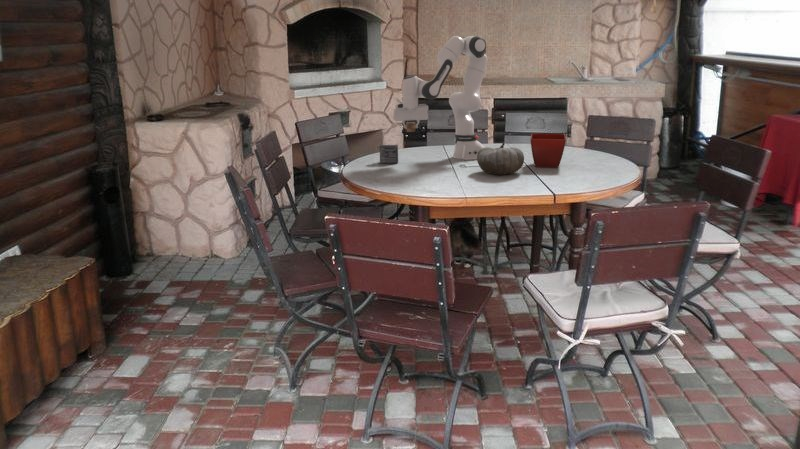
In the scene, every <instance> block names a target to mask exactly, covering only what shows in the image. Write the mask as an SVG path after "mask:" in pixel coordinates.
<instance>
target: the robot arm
mask: <svg viewBox="0 0 800 449" xmlns="http://www.w3.org/2000/svg"><path fill="white" fill-rule="evenodd" d="M486 49H487V42H486V39H485V38H484V37H482V36H480V35H469V36H464V37H460V35H453V36H451V37H450V38H449V39H448V40H447V41H446V42H445V44H443V46H442V47H441V48H440V50H439V52H438V53H437V56H436V60H437V63H438V65H439V68H438V70H437V71H436V74H435V75H434V76H433V78H432V79H431V80H429V81H428V80H424V79H422V78H419V77H418V76H417V75H416V74H415V75H414V74H412V75H411V74H410V75H406V76H404V77H403V80H402V86H401V87H402V94H403V96H402V101H400V102H396V103H395V105H394V106H395V108H394V110H393V121H394V122H401V123H402V125H403V128H404V129H407V125H406V124H405V122H406V121H407V122H408V121H409V122H410V121H416V122H417V123H416V124H415V129H418V128H419V124H420V121H427V120H428V119H429V115H428V112H429V105H428V104H426V103H419V98H424V99H426V100H429V101H432V100H435V99H437V98H438V97H439V94H440V93H441V89H442V86H443V84H444V83H445V81H446V80H447V78H448V76H449V74H450V72H452V70H453V66H454V65H455V63H456V61H457V60H458V59H459V58H460V55H463V56H468V58H469V59H468V60H469V61H468V65H467V67H466V70H465V73H464V76H463V78H462V82H463V85H464V86H463V91H458V92H457V91H456V92H453V93H452V94H451V95H449V98H448V104H449V106H450V107H451V110H452V112H453V116H454V122H455V134H454V151H453V156H452V158H453V159H456V160H457V159H458V160H462V161H463V160H464V161H469V160H470V161H471V160H477V155H478V151H479V150H480V149H481V148H484V147H486V146H485V145H484V144H482V143H481V142H480V141H478V139H479V136H478V135H477V134H475V120H474V119H473V117H472V115H471V113H474V112H478V111H479V110H480V109H481V107H482V104H483V103H482V98H481V95H480V94H481V85H482V83H483V79H484V76H485V74H486V71H487V66H488V62H489V61H488V58H489V57H488V56H487V55H486V53H487V50H486Z"/></svg>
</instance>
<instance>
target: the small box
mask: <svg viewBox="0 0 800 449" xmlns="http://www.w3.org/2000/svg"><path fill="white" fill-rule="evenodd" d="M378 148H379V164H380V165H381V164H382V165H383V164H384V165H387V164H388V165H393V164H394V165H395V164H398V163H399V144H381V145H379V147H378Z"/></svg>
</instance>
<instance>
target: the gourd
mask: <svg viewBox="0 0 800 449" xmlns="http://www.w3.org/2000/svg"><path fill="white" fill-rule="evenodd" d="M505 144H506V143H505V142H502V144H501V145H500V146H499V147H490V146H485V147H484V148H481V149H480V150H479V151H478V155H477V159H476V161H477V164H478V166H479V168H480V169H481V171H483V172H484V173H489V174H495V175H496V176H505V175H509V174H514V173H516V172H518V171H519V170H520V169H521V168H522V167H523V166H524V164H525V155H524V153H523V151H522V149H520V148H518V147H516V146H515V147H514V146H513V147H504V146H505Z"/></svg>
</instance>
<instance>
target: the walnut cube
mask: <svg viewBox="0 0 800 449" xmlns="http://www.w3.org/2000/svg"><path fill="white" fill-rule="evenodd" d="M405 122H406V121H405ZM405 125H407V128H406V133H416V128H415V125H416V122H414V121H413V122H411V121H409V122H408V121H407V122H406V124H405Z"/></svg>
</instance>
